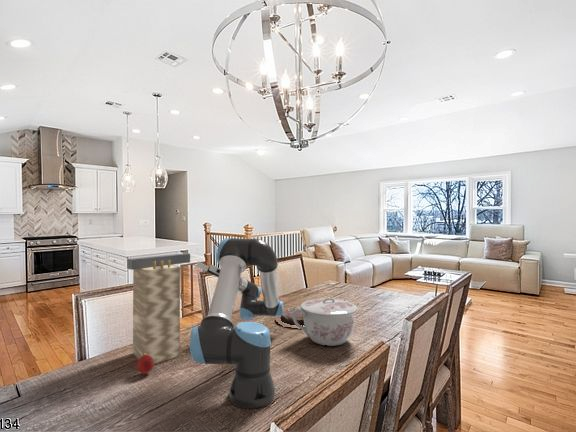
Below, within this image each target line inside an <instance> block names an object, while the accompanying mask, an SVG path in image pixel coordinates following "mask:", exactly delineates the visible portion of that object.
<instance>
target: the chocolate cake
mask: <svg viewBox="0 0 576 432" xmlns="http://www.w3.org/2000/svg"><path fill="white" fill-rule="evenodd" d="M296 308H298V307H296V306H294V307H291V308H287V309H285V310H283V315H282V316H281V317H280V319H281V321H282V322H284V323H287V324H290V325H296V324H295V323H294V322H293V319H292V315H293V312H294V310H295V309H296ZM300 308H301V307H300ZM301 309H302V308H301ZM296 321H297V322H298V323H299V325H302V326H303V325H304V318H303V313H302V312H298V313H296Z"/></svg>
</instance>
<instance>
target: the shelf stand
mask: <svg viewBox="0 0 576 432" xmlns="http://www.w3.org/2000/svg"><path fill="white" fill-rule="evenodd" d="M132 272H133V273H132V274H133V275H132V278H133V279H132V280H133V281H132V282H133V283H132V285H133V287H132V288H133V289H132V292H133V293H132V297H133V298H132V354H133V355H134V356H135V357H136V359H137V360H139V359H140V358H141V357H142V356H143V354H144V353H146V354H148V355H149V356H151V357H152V358H153V360H154V365H155V364H159V363H162V362H165V361H168V360H172V359H174V358H179V357H180V356H181V355H180V348H181V346H180V344H181V340H180V339H181V336H180V335H181V331H180V330H181V325H180V324H181V322H180V321H181V319H180V318H181V267H180V266H178V265H176V264H173V265H170V260H168V265H165V266H163V261H161V266H157V267H156V261H153V267H149V268H142V269H134V270H133V271H132Z"/></svg>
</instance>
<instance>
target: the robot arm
mask: <svg viewBox="0 0 576 432" xmlns="http://www.w3.org/2000/svg"><path fill="white" fill-rule="evenodd" d="M216 251H217V252H216V262H217V264H218V266H219V267H218V266H216V265H214V264H210V266H208V265H206V264H205V263H203V262H201V261H199V260H198V261H197V263H196V264H195V267H197V268H199V269H200V270H201V271H204V273H205V274H210V275H212V276H214V277H216V278H217V281H216V285H215V288H214V292H213V295H212V299H211V302H210V306H209V309H208V311H207V316H204V317H203V318H201V321H200V324H199V325H194V326H193V328H192V329H191V331H190V338H189V353H190V356H191V359H192V361H193V362H194V363H196V364H204V365H228V366H229V365H232V366H234V375H233V379H232V381H231V385H230V388H229V400H230V402H231V403H232V404H233V405H234V406H236V407H238V408H242V409H248V410H249V409H258V408H263V407H265V406H268V405H269V404H271V403H272V402H273V400H274V399H275V396H276V386H275V383H274V379H273V377H272V374H271V373H272V372H271V345H272V344H271V343H272V342H271V331H270V329H269V328H268V327H267V326H265V325H264V324H262V323H259V322H256V321H252V320H254V318H255V317H259V316H260V317H262V316H263V317H274V318H276V317H277V316H282V315H283V311H284V301H283V300H279V290H278V289H279V288H278V278H277V268H278V267H279V266H278V265H279V262H278V257H277V254H276V252H275V251H274V249H273V248H272V247H271V245H270V244H268V243H267V242H266V241H264V240H263V239H260V238H234V237H231V238H224V239H222V240H221V241H220V243H218V246H217V250H216ZM247 266H254V267H256V269H257V270H258V272H259V279H260V284H261V286H259V285H257V284H256V283H253V282H251V281H250V280H247V279H246V277H245V276H243V277H242V273H244V272H245V271H246V270H247ZM239 293H240V294H241V300H240V306H239V312H238V313H239V318H240V319H241V320H243V321H240V322H238V323H236V324H234V323H233V321H232V317H233V312H234V309H235V304H236V299H237V295H238V294H239ZM261 294H262V299H263V300H258V299H259V298H260V297H261ZM270 402H271V403H270Z"/></svg>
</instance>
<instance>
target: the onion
mask: <svg viewBox="0 0 576 432" xmlns="http://www.w3.org/2000/svg"><path fill="white" fill-rule="evenodd" d="M154 365H155V364H154V360H153V358H152V357H151V356H149V355H148V354H146V353H144V354H143V356H142V357H141V358H140V359H138V361H137V363H136V368H137V370H138V372H139V373H140V374H143V375H147V374H148V373H150V372H151V371H152V370H153V369H154Z"/></svg>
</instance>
